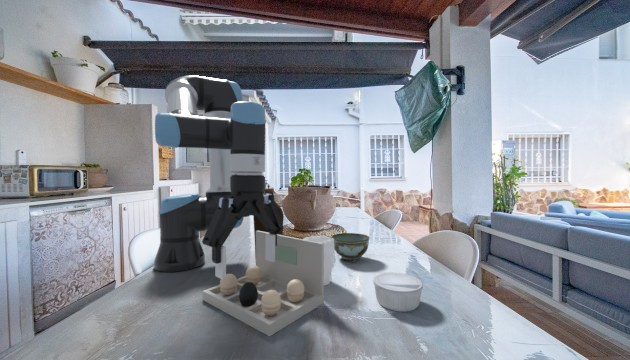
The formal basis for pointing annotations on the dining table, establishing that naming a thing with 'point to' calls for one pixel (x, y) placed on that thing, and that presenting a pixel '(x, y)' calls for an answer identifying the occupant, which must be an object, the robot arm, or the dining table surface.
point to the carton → (275, 285)
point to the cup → (325, 254)
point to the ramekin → (398, 291)
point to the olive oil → (257, 223)
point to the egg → (248, 294)
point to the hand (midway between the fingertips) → (247, 268)
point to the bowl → (350, 245)
